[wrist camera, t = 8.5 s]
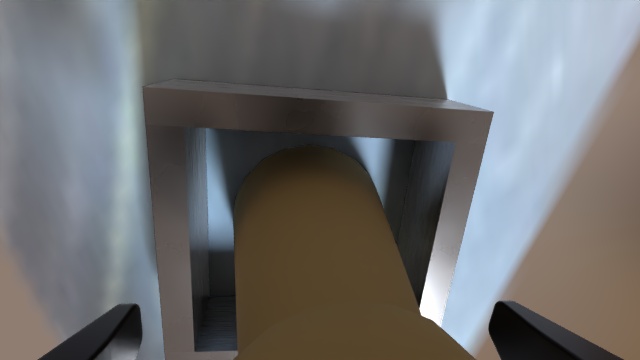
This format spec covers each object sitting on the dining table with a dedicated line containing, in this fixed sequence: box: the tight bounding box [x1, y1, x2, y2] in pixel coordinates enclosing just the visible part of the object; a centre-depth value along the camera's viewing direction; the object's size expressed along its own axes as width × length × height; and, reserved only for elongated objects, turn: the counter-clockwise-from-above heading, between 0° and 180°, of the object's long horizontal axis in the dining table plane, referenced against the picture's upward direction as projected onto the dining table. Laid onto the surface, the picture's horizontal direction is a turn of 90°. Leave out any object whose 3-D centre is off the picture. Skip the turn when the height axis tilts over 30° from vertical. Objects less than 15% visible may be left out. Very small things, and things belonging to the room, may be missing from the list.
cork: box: [233, 145, 476, 360], centre depth 9 cm, size 6×6×11 cm
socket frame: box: [143, 79, 494, 360], centre depth 13 cm, size 10×10×3 cm
